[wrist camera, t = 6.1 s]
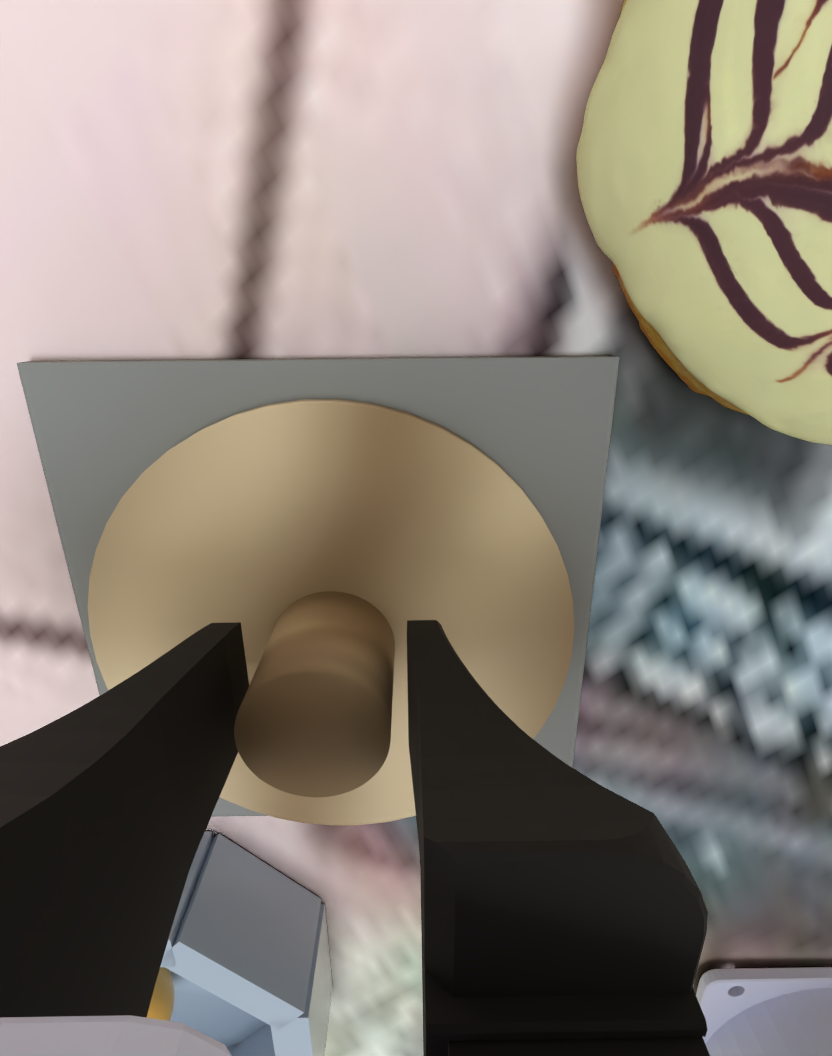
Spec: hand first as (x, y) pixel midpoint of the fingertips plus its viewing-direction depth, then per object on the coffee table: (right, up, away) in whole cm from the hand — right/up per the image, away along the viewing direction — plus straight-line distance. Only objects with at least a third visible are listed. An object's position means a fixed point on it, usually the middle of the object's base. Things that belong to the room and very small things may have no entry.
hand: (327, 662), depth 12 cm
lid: (0, 0, +2) cm, 2 cm away
